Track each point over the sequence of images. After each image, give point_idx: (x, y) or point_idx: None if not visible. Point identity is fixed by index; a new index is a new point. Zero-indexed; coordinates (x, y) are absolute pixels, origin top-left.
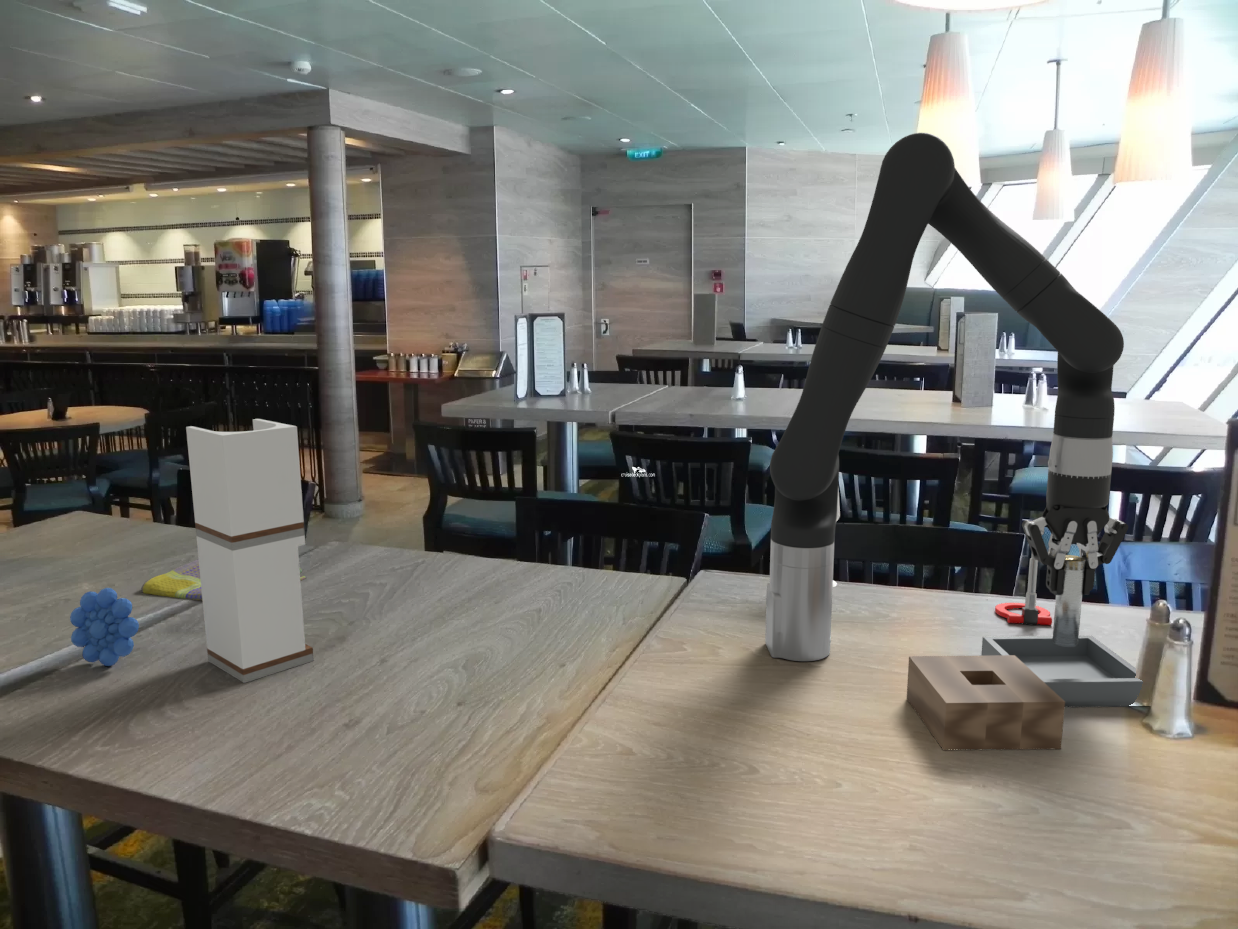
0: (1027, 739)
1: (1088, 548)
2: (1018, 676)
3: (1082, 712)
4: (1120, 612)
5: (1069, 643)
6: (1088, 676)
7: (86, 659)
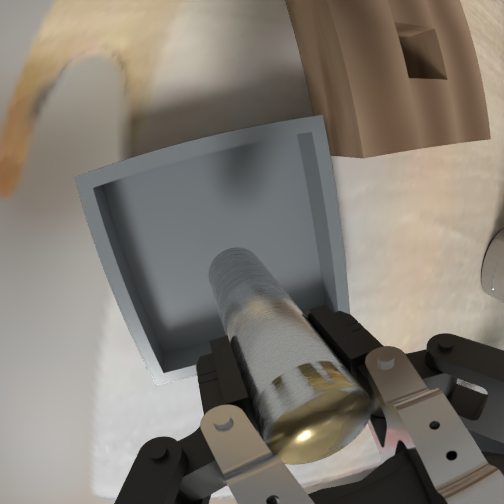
0: None
1: (288, 472)
2: (374, 50)
3: (215, 116)
4: (111, 488)
5: (234, 250)
6: (174, 261)
7: None
